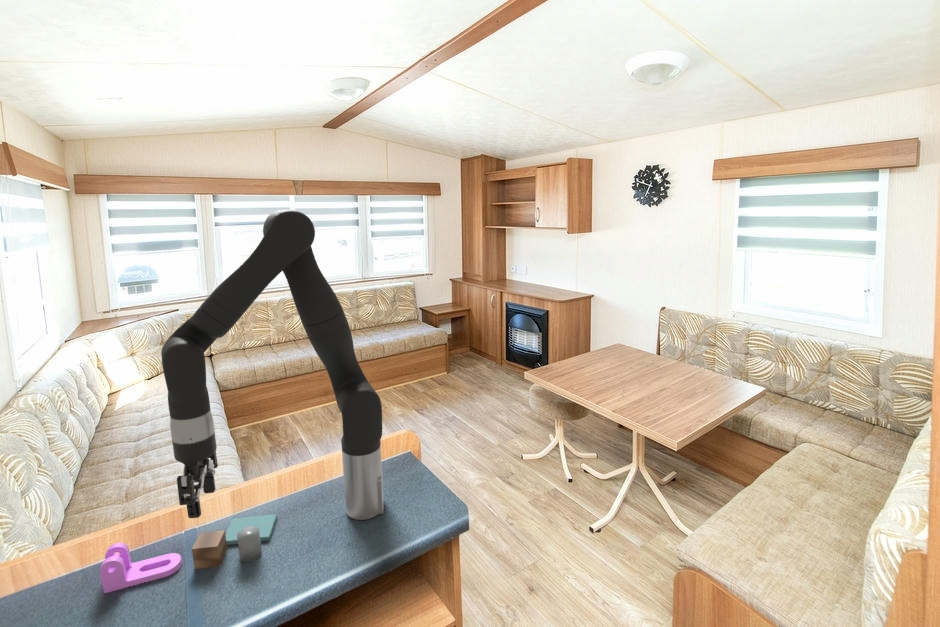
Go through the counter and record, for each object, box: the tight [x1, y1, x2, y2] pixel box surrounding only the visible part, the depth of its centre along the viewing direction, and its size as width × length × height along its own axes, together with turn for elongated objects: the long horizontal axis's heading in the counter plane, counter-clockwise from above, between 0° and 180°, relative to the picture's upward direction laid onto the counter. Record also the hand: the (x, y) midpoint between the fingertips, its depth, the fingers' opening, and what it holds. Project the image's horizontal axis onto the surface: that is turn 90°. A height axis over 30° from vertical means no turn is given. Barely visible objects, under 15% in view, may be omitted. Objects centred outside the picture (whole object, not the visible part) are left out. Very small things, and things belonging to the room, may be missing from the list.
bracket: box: [99, 542, 183, 594], centre depth 99 cm, size 13×6×7 cm, turn 114°
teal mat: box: [225, 513, 278, 546], centre depth 112 cm, size 10×8×1 cm
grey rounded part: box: [237, 526, 263, 563], centre depth 105 cm, size 4×4×6 cm
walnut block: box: [191, 530, 228, 570], centre depth 103 cm, size 5×5×5 cm
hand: (202, 503), depth 101 cm, fingers open, 8 cm apart
